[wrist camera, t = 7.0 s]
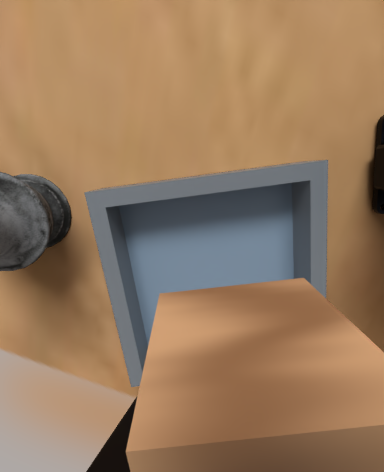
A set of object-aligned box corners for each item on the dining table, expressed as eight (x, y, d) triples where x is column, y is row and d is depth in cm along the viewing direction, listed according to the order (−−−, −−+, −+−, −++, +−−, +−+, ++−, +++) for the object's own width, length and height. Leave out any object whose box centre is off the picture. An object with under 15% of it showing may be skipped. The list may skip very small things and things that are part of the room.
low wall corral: (304, 161, 17) (327, 160, 14) (306, 336, 21) (325, 363, 18) (101, 188, 17) (84, 192, 14) (138, 356, 21) (131, 386, 18)
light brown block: (303, 277, 9) (453, 417, 4) (302, 393, 10) (412, 606, 5) (159, 293, 9) (125, 451, 4) (177, 406, 10) (169, 630, 5)
